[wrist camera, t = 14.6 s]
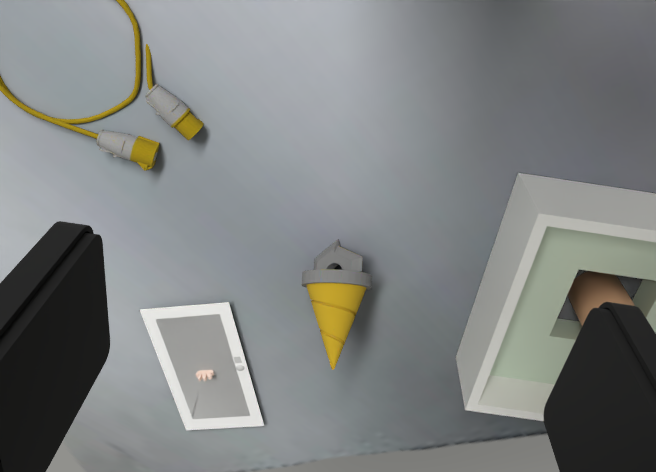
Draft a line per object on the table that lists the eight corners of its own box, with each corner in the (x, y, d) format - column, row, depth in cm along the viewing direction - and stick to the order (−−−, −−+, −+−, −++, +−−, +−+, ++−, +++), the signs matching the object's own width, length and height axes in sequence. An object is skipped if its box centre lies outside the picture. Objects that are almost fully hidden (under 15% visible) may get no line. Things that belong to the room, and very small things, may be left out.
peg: (578, 266, 46) (620, 343, 38) (628, 273, 46) (680, 352, 38) (560, 306, 48) (597, 387, 40) (608, 313, 48) (654, 395, 40)
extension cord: (79, 191, 46) (68, 204, 44) (-59, -10, 38) (-79, -4, 37) (216, 139, 43) (210, 150, 41) (95, -90, 36) (81, -88, 34)
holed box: (518, 172, 42) (538, 213, 37) (762, 209, 43) (816, 255, 37) (455, 357, 52) (465, 410, 46) (656, 386, 52) (687, 441, 47)
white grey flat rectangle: (189, 421, 59) (183, 439, 57) (143, 301, 51) (135, 317, 49) (265, 416, 58) (262, 434, 56) (231, 294, 50) (226, 310, 48)
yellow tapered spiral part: (385, 242, 46) (382, 371, 44) (331, 247, 50) (326, 368, 48) (346, 228, 42) (340, 371, 40) (290, 235, 46) (282, 367, 43)
